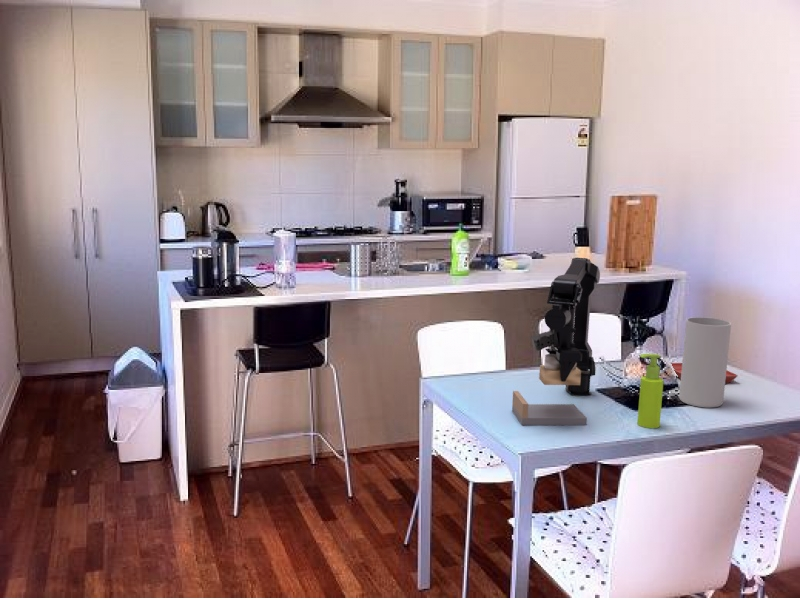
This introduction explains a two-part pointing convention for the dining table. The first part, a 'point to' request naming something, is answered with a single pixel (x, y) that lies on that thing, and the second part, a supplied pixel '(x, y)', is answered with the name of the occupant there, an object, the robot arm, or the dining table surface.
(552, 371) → the glass caddy
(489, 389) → the dining table surface
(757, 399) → the dining table surface
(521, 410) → the l-shaped bookend
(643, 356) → the soap dispenser
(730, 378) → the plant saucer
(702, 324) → the cylinder vase
